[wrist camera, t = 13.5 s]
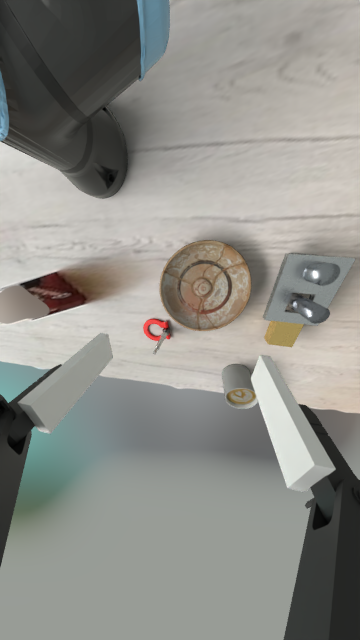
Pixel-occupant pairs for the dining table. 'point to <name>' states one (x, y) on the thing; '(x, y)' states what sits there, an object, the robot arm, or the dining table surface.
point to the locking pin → (308, 308)
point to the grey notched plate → (302, 277)
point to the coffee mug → (238, 387)
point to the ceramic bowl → (205, 285)
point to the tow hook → (157, 338)
